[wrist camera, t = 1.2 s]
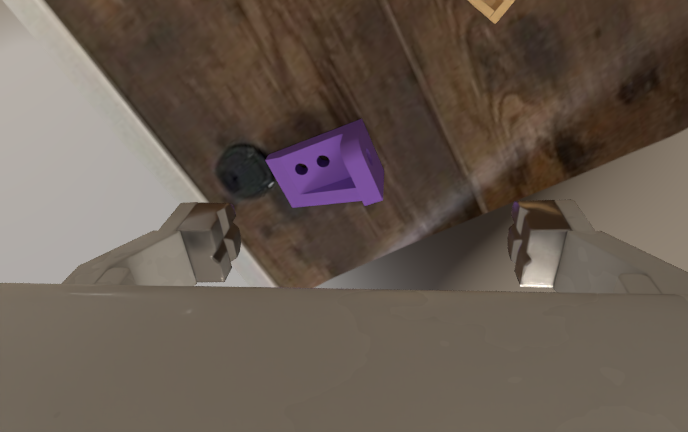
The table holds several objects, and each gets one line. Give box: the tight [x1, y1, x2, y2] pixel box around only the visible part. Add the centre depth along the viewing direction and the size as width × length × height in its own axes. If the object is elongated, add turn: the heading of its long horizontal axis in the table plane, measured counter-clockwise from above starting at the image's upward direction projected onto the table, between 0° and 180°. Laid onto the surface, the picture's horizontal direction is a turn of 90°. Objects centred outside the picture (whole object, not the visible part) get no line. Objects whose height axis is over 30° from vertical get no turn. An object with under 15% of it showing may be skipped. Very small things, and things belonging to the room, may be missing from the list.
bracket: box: [265, 119, 384, 208], centre depth 49 cm, size 12×7×7 cm, turn 114°
